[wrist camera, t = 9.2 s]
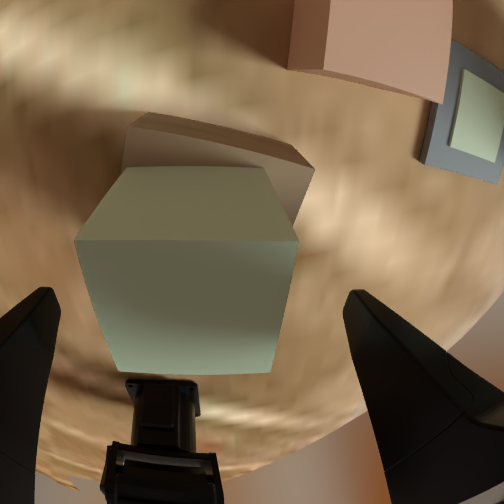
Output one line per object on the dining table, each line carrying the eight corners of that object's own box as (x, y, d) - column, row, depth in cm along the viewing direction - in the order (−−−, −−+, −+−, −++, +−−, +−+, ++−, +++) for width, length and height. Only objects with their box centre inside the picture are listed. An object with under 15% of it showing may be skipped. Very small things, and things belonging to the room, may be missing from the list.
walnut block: (249, 258, 18) (259, 305, 14) (130, 236, 16) (113, 281, 13) (290, 144, 14) (315, 169, 11) (150, 111, 12) (127, 125, 9)
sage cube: (252, 277, 13) (270, 372, 9) (140, 276, 13) (118, 371, 9) (263, 167, 11) (299, 240, 6) (127, 167, 10) (74, 240, 6)
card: (492, 181, 16) (499, 185, 15) (419, 161, 15) (426, 165, 14) (513, 83, 12) (521, 85, 11) (440, 36, 10) (449, 36, 10)
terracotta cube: (380, 89, 13) (442, 104, 8) (286, 69, 12) (323, 69, 8) (389, 5, 10) (452, -5, 6) (296, -21, 9) (334, -57, 5)
